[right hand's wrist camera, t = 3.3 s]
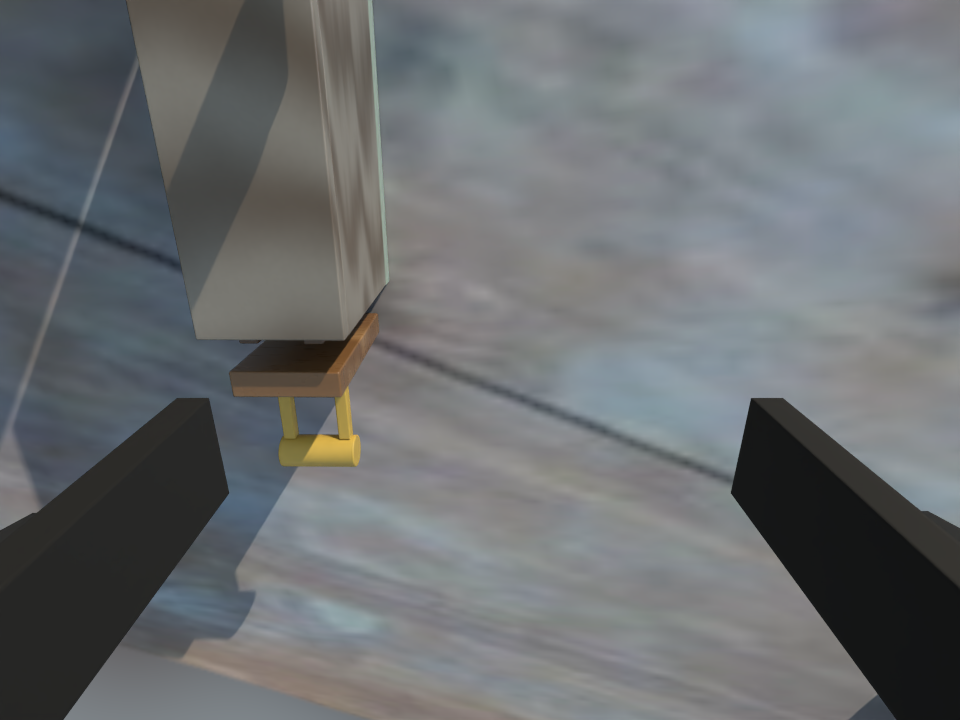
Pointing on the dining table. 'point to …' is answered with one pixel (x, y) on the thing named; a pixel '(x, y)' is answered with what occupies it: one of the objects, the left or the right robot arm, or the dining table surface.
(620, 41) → the dining table surface
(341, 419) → the drawer
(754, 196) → the dining table surface
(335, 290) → the cabinet
